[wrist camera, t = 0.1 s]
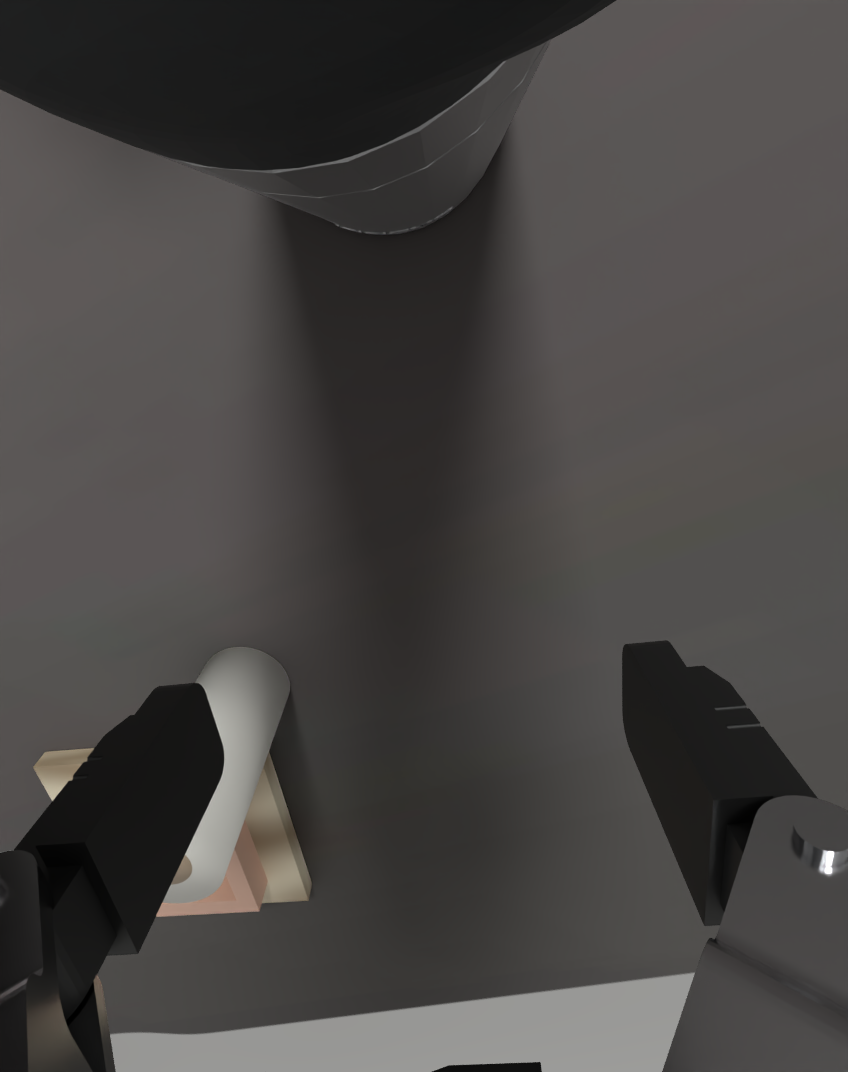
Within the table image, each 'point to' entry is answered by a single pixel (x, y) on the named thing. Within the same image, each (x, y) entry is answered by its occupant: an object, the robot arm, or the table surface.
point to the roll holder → (258, 858)
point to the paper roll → (232, 760)
